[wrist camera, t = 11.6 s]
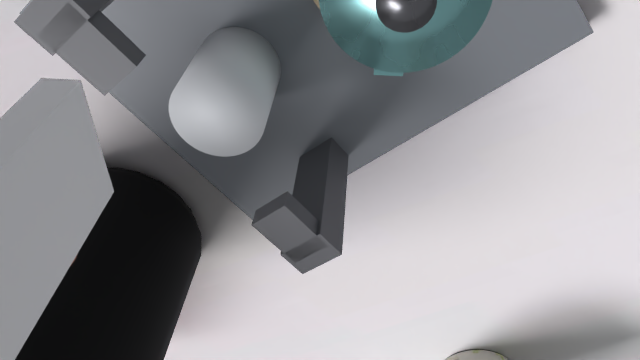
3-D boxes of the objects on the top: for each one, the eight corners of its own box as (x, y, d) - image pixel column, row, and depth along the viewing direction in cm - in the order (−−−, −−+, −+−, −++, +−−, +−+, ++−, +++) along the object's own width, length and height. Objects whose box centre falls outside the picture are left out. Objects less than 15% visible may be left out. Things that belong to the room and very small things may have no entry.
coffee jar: (123, 132, 32) (-73, 417, 18) (237, 239, 37) (153, 529, 23) (22, 201, 37) (-198, 475, 22) (136, 289, 42) (14, 558, 27)
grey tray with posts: (29, 6, 28) (-88, 87, 21) (371, -384, 18) (369, -479, 11) (262, 215, 36) (234, 325, 29) (587, 24, 26) (665, 120, 19)
